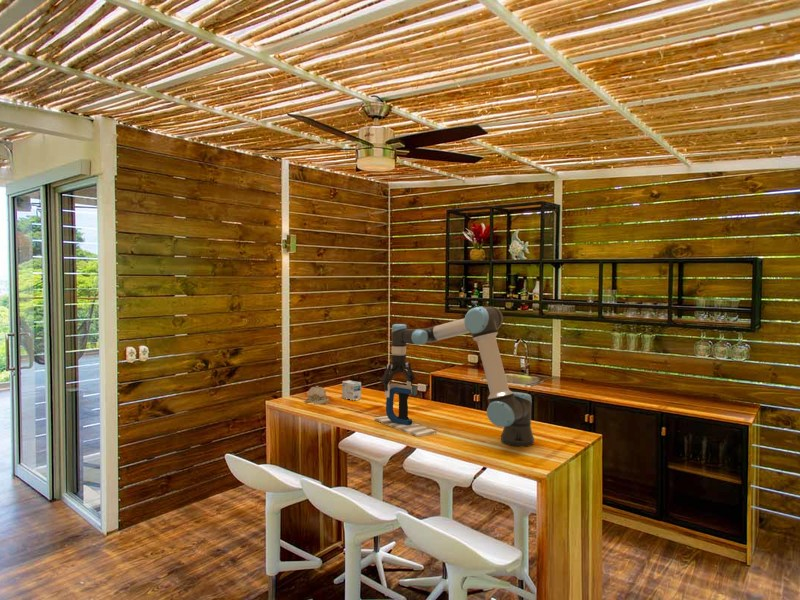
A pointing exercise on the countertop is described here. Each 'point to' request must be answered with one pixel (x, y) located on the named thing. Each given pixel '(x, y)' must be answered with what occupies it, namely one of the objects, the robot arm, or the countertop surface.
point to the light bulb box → (351, 390)
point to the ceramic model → (317, 395)
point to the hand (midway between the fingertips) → (398, 395)
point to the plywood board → (407, 427)
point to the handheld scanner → (400, 403)
